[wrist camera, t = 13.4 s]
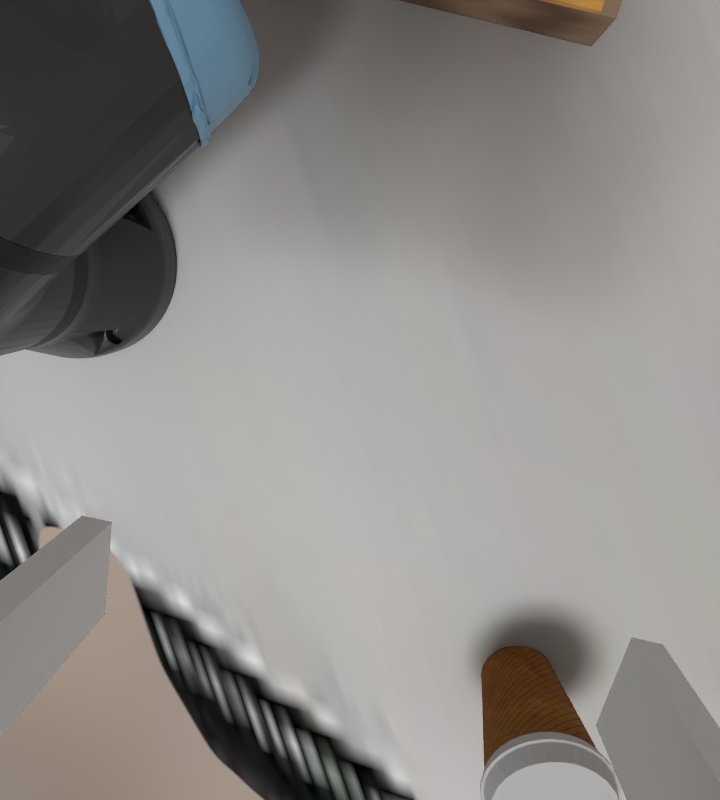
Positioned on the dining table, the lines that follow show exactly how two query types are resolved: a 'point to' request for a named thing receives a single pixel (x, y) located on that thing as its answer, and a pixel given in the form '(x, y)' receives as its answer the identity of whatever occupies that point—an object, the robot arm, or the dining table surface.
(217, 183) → the dining table surface
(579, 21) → the rack
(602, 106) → the dining table surface
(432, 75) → the dining table surface
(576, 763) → the disposable coffee cup
